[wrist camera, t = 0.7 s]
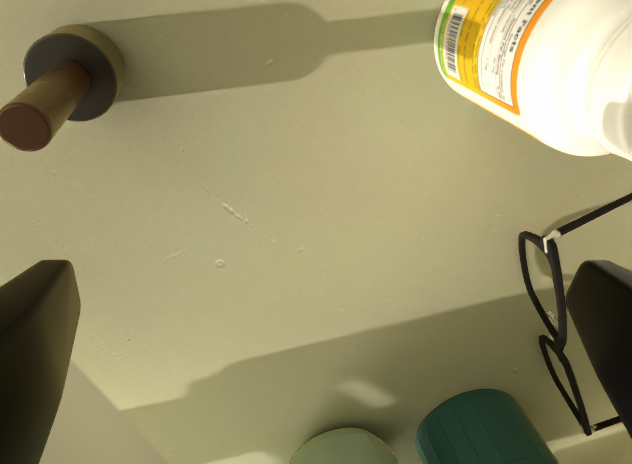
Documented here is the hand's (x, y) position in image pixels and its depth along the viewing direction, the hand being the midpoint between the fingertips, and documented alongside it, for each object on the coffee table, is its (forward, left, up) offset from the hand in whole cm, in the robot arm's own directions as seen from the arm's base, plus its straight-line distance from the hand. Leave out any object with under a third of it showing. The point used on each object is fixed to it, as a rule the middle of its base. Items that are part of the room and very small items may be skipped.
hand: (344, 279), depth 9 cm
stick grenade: (-7, 0, -13) cm, 14 cm away
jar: (+17, -19, -13) cm, 28 cm away
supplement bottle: (+8, +4, -13) cm, 16 cm away
